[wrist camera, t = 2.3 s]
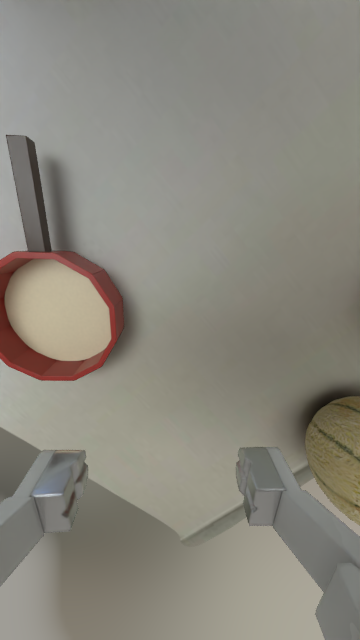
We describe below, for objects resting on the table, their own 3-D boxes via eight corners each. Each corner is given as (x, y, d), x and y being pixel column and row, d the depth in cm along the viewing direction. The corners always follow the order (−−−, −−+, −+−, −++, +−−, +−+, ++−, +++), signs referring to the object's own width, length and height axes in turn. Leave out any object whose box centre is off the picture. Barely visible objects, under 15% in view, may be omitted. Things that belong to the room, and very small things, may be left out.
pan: (-35, 148, 20) (-82, 127, 17) (114, 156, 21) (102, 137, 17) (17, 362, 28) (-7, 380, 24) (126, 362, 29) (119, 380, 25)
